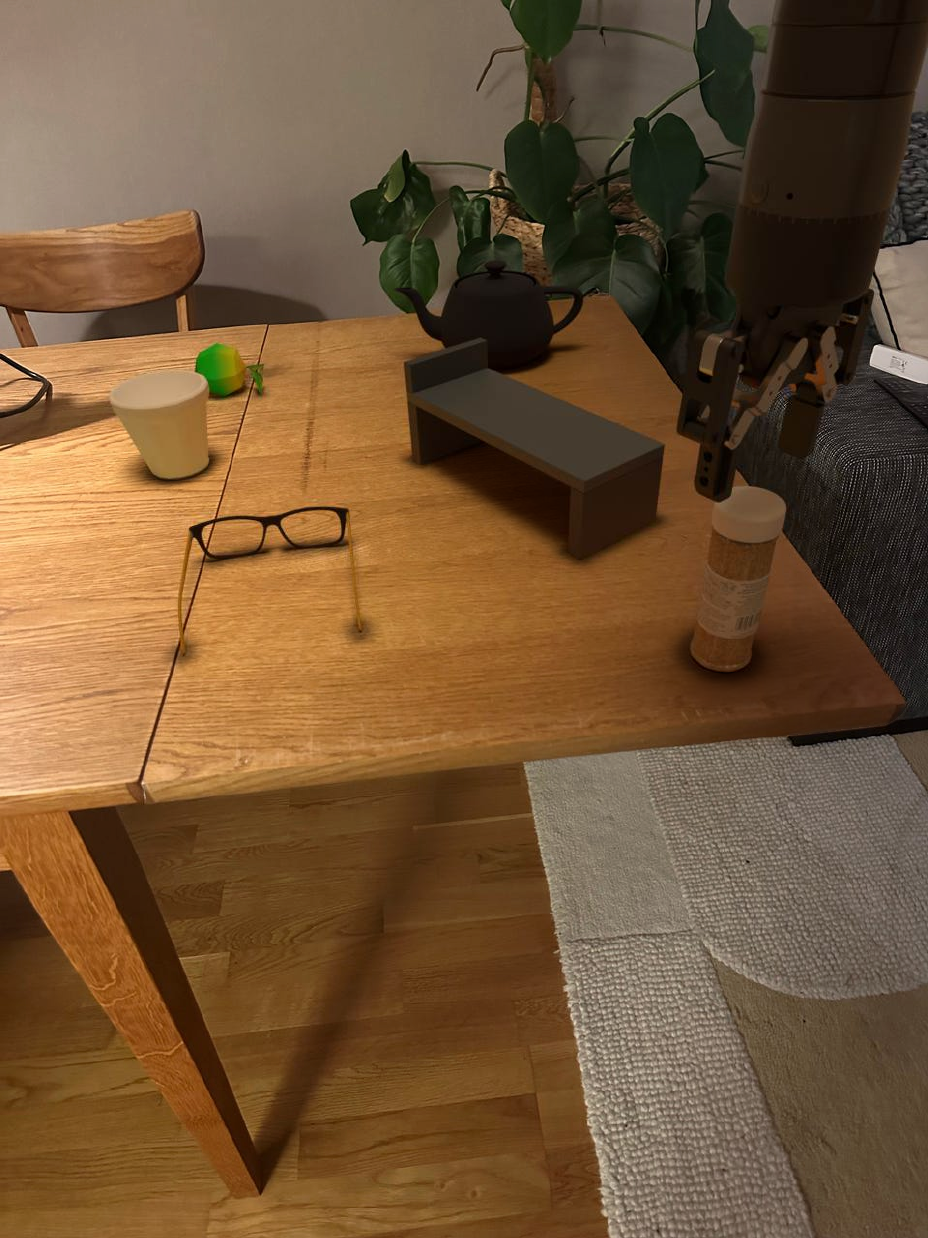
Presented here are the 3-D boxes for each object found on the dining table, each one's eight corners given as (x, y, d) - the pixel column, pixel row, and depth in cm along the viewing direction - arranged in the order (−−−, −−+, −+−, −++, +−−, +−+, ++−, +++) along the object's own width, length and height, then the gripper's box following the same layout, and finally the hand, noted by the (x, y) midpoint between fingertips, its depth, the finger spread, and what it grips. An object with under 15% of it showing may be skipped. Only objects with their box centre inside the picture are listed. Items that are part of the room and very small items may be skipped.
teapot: (572, 331, 118) (575, 241, 110) (590, 371, 106) (595, 273, 98) (401, 341, 118) (393, 251, 110) (399, 382, 106) (390, 285, 98)
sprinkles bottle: (733, 631, 63) (765, 479, 55) (762, 669, 60) (801, 512, 52) (678, 641, 63) (703, 488, 54) (704, 680, 59) (735, 522, 51)
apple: (184, 337, 101) (256, 330, 101) (199, 356, 107) (267, 350, 108) (189, 393, 101) (262, 386, 101) (204, 408, 107) (272, 402, 107)
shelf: (656, 521, 77) (669, 411, 70) (580, 560, 72) (586, 448, 65) (483, 432, 93) (480, 337, 86) (412, 460, 88) (403, 361, 82)
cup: (242, 469, 88) (223, 388, 83) (153, 500, 84) (126, 416, 78) (205, 439, 95) (185, 361, 89) (121, 466, 90) (94, 386, 84)
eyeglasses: (353, 537, 76) (347, 501, 74) (362, 632, 65) (356, 592, 63) (199, 556, 75) (189, 519, 73) (182, 656, 64) (168, 616, 61)
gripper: (795, 232, 36) (732, 538, 46) (956, 182, 43) (870, 459, 53) (665, 206, 41) (634, 489, 51) (828, 164, 47) (771, 422, 57)
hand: (754, 474), depth 52 cm, fingers open, 8 cm apart
